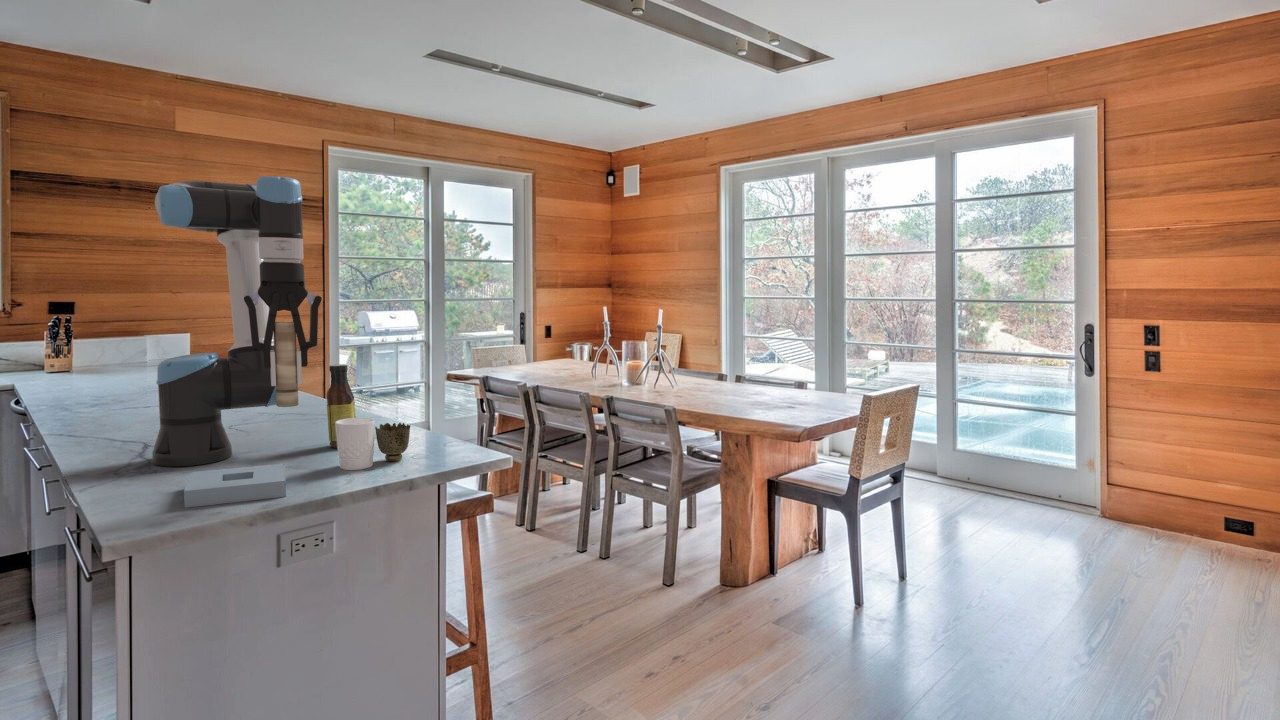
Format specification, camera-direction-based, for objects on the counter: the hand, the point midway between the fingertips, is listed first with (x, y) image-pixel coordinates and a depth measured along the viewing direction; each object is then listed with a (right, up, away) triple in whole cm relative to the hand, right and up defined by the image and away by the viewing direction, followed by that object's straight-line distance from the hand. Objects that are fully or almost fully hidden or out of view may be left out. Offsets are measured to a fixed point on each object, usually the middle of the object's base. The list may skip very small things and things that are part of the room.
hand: (286, 384), depth 138 cm
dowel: (0, -4, 0) cm, 4 cm away
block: (-8, -20, -2) cm, 22 cm away
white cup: (+6, -19, +18) cm, 27 cm away
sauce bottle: (-4, -17, +37) cm, 41 cm away
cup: (+13, -18, +23) cm, 32 cm away
